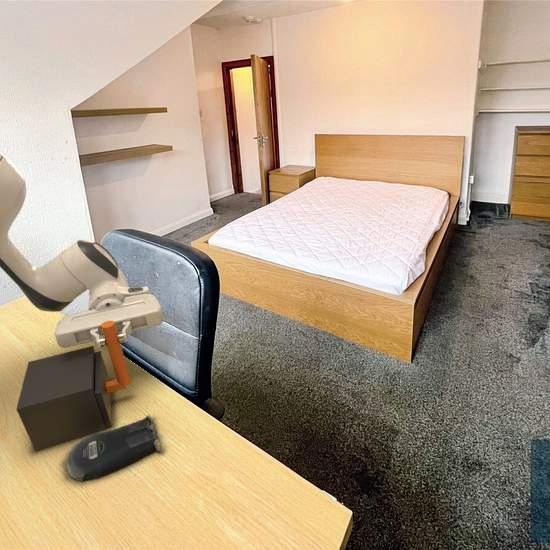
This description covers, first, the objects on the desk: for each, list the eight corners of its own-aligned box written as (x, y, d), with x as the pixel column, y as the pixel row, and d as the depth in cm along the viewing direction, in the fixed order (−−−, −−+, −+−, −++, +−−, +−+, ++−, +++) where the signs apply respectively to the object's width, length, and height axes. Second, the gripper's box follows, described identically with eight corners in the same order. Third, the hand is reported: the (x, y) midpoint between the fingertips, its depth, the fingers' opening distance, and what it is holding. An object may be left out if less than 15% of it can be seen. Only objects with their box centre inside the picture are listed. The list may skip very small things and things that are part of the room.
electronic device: (151, 426, 80) (66, 449, 73) (151, 405, 77) (62, 428, 71) (162, 466, 73) (69, 496, 66) (162, 445, 70) (64, 475, 63)
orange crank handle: (132, 375, 90) (113, 305, 82) (137, 417, 78) (115, 341, 71) (53, 397, 85) (24, 325, 77) (45, 445, 74) (11, 367, 66)
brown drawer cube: (106, 386, 89) (93, 345, 84) (107, 433, 77) (92, 388, 72) (45, 404, 85) (28, 361, 80) (37, 455, 73) (16, 409, 69)
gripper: (53, 307, 84) (46, 342, 72) (155, 285, 90) (163, 314, 78) (62, 332, 87) (57, 371, 75) (160, 309, 93) (169, 341, 81)
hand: (112, 341), depth 77 cm, fingers closed on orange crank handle, 2 cm apart
